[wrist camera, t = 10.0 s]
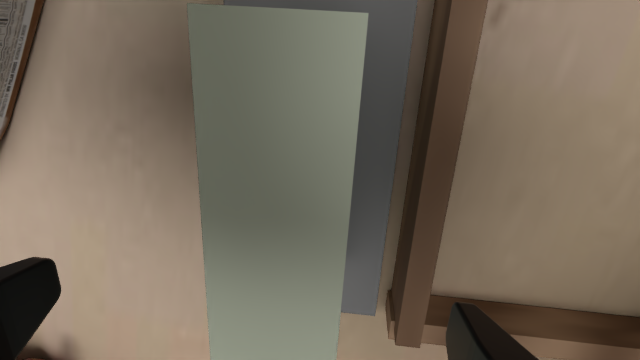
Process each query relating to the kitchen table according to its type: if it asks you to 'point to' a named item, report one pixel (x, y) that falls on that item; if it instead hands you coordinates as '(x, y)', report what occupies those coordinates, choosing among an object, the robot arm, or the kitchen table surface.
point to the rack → (431, 206)
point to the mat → (370, 135)
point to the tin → (14, 50)
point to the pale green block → (275, 173)
